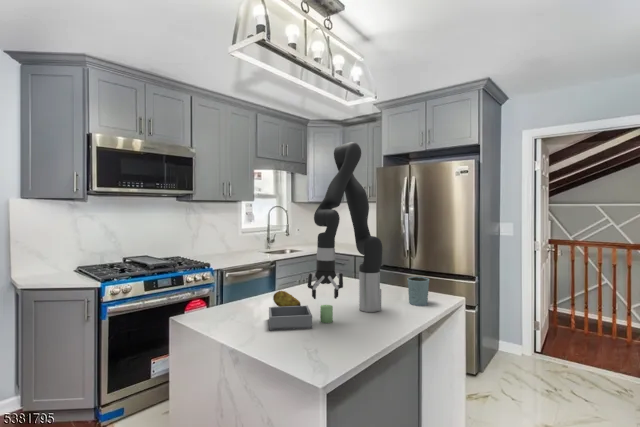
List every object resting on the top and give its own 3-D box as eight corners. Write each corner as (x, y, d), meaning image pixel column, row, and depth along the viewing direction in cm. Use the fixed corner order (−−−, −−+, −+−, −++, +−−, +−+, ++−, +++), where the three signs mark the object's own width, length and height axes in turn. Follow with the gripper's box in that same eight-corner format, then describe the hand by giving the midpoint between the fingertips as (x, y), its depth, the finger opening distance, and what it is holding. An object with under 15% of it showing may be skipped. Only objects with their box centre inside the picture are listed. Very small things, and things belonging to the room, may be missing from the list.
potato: (288, 314, 155) (288, 296, 155) (270, 308, 164) (270, 291, 164) (302, 310, 161) (302, 292, 161) (284, 305, 170) (284, 288, 170)
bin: (307, 317, 151) (307, 305, 151) (312, 328, 137) (312, 315, 137) (269, 319, 148) (268, 307, 148) (269, 330, 135) (269, 317, 135)
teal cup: (427, 301, 177) (427, 276, 177) (431, 306, 167) (431, 281, 167) (405, 300, 178) (406, 276, 178) (408, 306, 168) (409, 280, 168)
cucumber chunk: (331, 318, 149) (331, 304, 149) (333, 322, 144) (333, 307, 144) (319, 319, 148) (319, 305, 148) (321, 323, 143) (321, 308, 143)
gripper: (341, 257, 151) (340, 296, 151) (307, 257, 149) (306, 296, 149) (344, 259, 143) (344, 300, 143) (309, 259, 141) (308, 301, 141)
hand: (325, 298), depth 146 cm, fingers open, 8 cm apart
